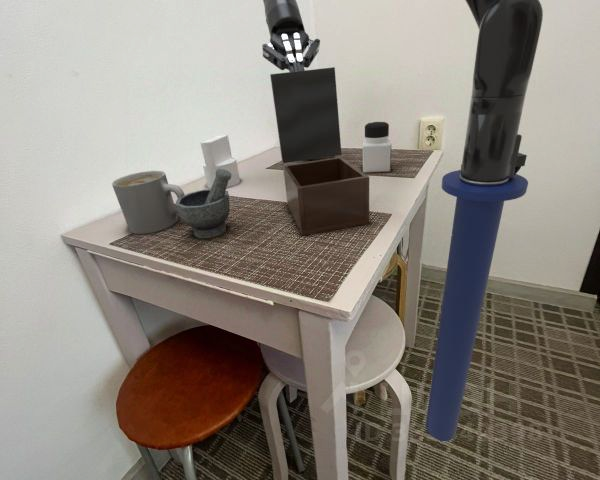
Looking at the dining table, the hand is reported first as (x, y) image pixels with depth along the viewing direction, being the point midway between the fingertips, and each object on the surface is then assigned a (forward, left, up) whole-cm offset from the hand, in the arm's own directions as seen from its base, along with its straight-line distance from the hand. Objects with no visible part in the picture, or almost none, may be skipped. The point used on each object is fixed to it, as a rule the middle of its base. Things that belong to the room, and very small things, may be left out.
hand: (299, 81), depth 67 cm
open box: (-2, +14, -24) cm, 28 cm away
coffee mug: (+33, +9, -24) cm, 42 cm away
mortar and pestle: (+20, +16, -24) cm, 35 cm away
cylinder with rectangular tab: (+22, -15, -24) cm, 36 cm away
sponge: (-6, -32, -24) cm, 41 cm away
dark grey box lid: (-1, +5, -6) cm, 8 cm away
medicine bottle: (-20, -12, -24) cm, 33 cm away
